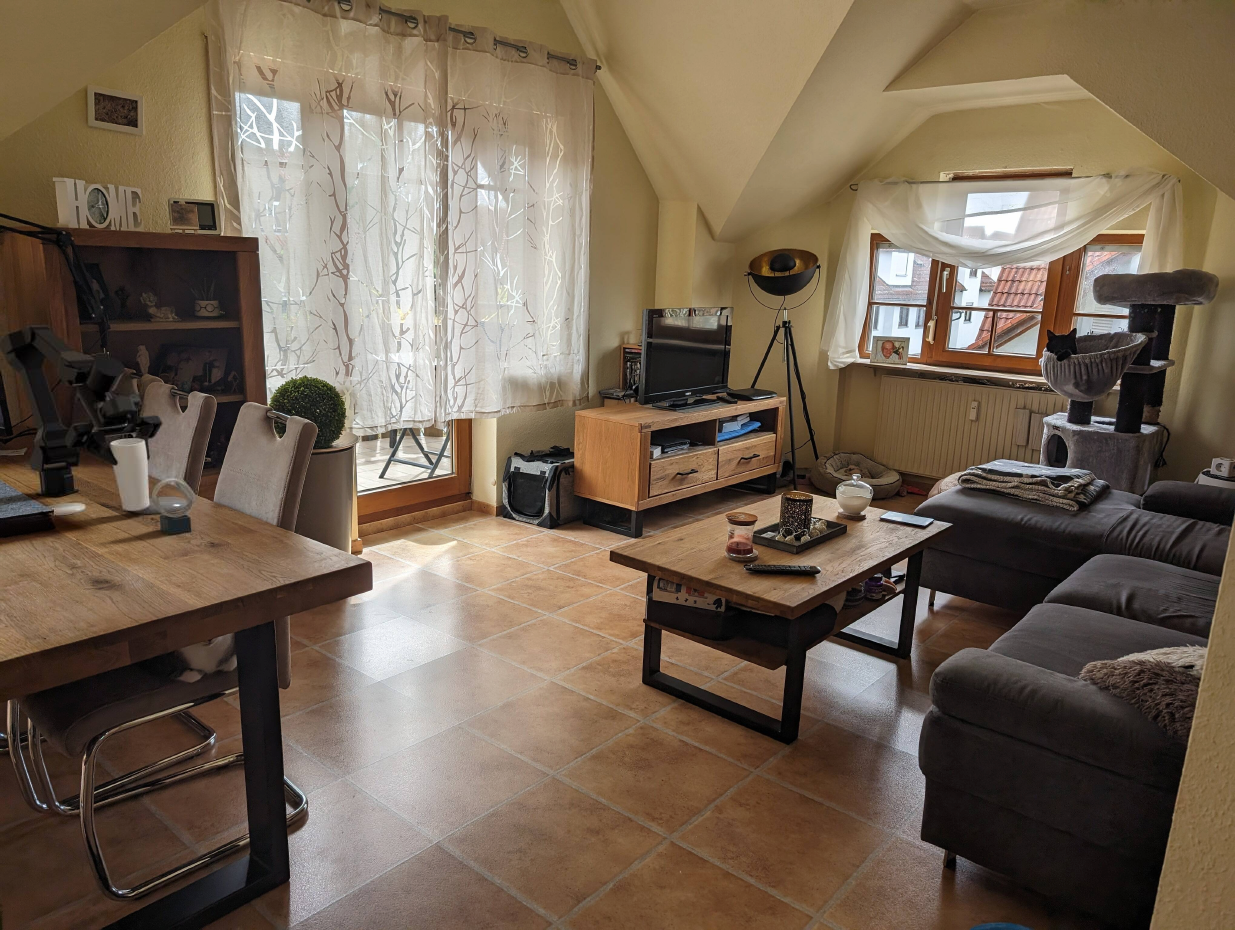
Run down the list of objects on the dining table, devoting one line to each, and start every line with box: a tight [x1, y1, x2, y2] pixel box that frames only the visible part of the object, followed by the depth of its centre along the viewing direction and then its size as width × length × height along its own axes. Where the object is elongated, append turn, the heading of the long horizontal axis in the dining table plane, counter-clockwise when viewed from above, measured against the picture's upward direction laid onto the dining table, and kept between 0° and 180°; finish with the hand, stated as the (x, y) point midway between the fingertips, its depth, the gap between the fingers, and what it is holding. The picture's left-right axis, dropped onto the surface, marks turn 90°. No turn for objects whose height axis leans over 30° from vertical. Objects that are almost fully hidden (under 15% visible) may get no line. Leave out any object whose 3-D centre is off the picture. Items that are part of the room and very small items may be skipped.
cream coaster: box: [46, 502, 87, 516], centre depth 192 cm, size 8×8×1 cm
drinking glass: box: [109, 437, 150, 512], centre depth 189 cm, size 7×7×15 cm
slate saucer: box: [132, 496, 188, 515], centre depth 197 cm, size 11×11×1 cm
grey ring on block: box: [151, 477, 197, 536], centre depth 179 cm, size 6×8×11 cm
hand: (132, 461), depth 187 cm, fingers closed on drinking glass, 7 cm apart
